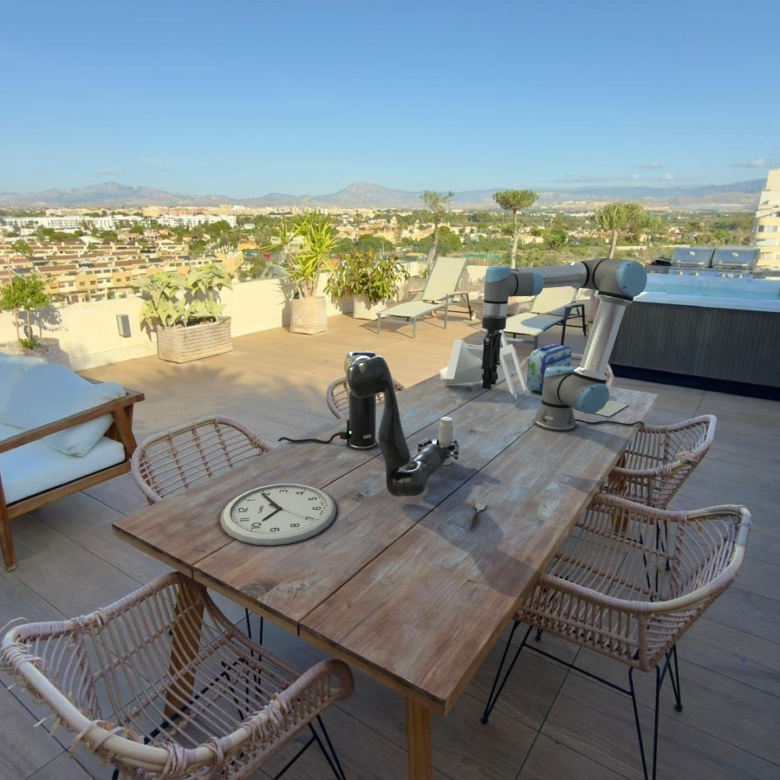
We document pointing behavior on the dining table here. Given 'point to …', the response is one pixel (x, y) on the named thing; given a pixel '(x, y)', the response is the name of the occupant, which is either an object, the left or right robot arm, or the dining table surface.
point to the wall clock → (278, 514)
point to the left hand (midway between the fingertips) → (448, 440)
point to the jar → (446, 434)
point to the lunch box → (546, 363)
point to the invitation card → (611, 408)
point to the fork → (478, 507)
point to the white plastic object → (479, 364)
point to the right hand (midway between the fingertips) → (489, 386)
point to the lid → (493, 376)
